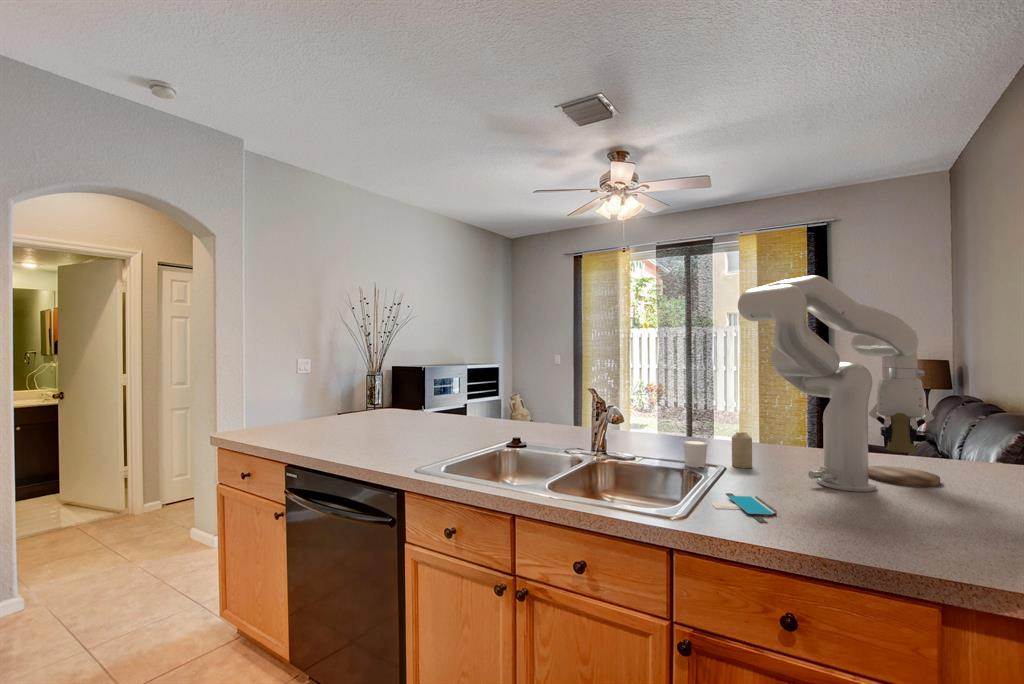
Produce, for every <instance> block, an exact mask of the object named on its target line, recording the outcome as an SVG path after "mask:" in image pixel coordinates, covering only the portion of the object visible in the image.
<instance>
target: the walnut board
mask: <svg viewBox="0 0 1024 684" xmlns="http://www.w3.org/2000/svg"><path fill="white" fill-rule="evenodd" d="M868 479H871V480H874V481H878V482H881V483H886V484H892V485H898V486H903V487H904V486H905V487H915V488H933V487H938V486H940V485H941V477H940V476H939V475H938V474H935V473H931V472H928V471H925V470H920V469H914V468H909V467H902V466H900V467H899V466H893V465H892V466H889V465H870V466H868Z"/></svg>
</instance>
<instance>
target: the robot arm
mask: <svg viewBox="0 0 1024 684" xmlns="http://www.w3.org/2000/svg"><path fill="white" fill-rule="evenodd" d="M737 309H738V313H739V314H740V316H741V317H742V318H743V319H745V320H746V321H749V322H764V321H765V322H766V321H775V324H774V325H775V326H774V333H773V343H774V346H773V349H772V351H771V354H770V362H771V365H772V367H773V370H775V372H776V373H777V374H778V375H779V376H780V377H781V378H783V379H784V380H785V381H787V382H788V383H789V384H791V385H792V386H793V387H794V388H796V389H797V390H799V391H800V392H802V393H803V394H805V395H808V396H812V397H819V398H829V399H830V400H829V402H828V404H827V405H826V407H825V409H824V411H823V416H822V423H823V425H822V427H823V430H822V431H823V432H822V433H823V437H822V439H823V442H822V443H823V465H820V469H818V470H809V471H808V474H807V475H808V477H809V479H811V480H813V479H816V482H817V483H818V484H819V485H822V486H824V487H827V488H830V489H834V490H835V489H836V490H841V491H845V492H847V491H848V492H863V493H865V492H866V493H867V492H873V491H876V489H877V484H876V483H875V482H874V481H871V480H869V478H868V467H869V429H868V428H869V425H868V421H869V420H868V419H869V416H870V417H871V418H873V419H875V420H877V421H878V422H879V423H880V424H881V425H883V427H884V429H885V430H884V431H885V434H884V435H885V437H884V438H885V439H887V440H888V439H889V442H891V437H892V428H891V417H890V416H893V415H895V414H896V413H904V414H906V415H907V416H908V417H911V419H910V421H911V422H910V424H911V429H910V439H911V444H913V441H914V442H917V440H918V439H917V438H918V437H917V436H918V435H917V433H918V432H917V430H918V429H919V428H920V427H922V426H923V425H925V424H926V423H929V422H931V421H933V420H934V419H935V417H934V415H933V414H932V413H931V411H929V409H928V408H927V407H926V404H925V395H924V394H925V393H924V386H923V382H922V380H921V379H919V377H921V376H925V375H926V372H925V370H921V369H919V368H918V347H919V337H918V334H917V332H916V330H914V329H913V328H912V327H911V326H910V325H909V324H908V323H907V322H905V321H904V320H903V319H902V318H900V317H899V316H897V315H895V314H892V313H890V312H887V311H885V310H882V309H878V308H876V307H872V306H870V305H867V304H863V303H859V302H857V301H855V300H854V299H852V297H851V296H849V295H847V293H845V292H844V291H842V290H841V289H840V288H839V287H837V286H836V285H835V284H833V283H832V282H831V281H830V280H828V279H827V278H825V277H823V276H820V275H807V276H799V277H793V278H788V279H783V280H779V281H776V282H772V283H769V284H765V285H762V286H761V285H760V286H758V287H754V288H753V287H752V288H750V289H746V291H744V292H743V293H742V294H740V296H739V299H738V302H737ZM807 313H809V314H811V315H812V316H814V317H815V318H817V319H818V320H819V321H820V322H822V323H823V324H824V325H826V326H827V327H829V328H830V329H832V330H836V331H839V332H843V333H848V334H852V335H853V336H852V338H851V341H850V343H851V347H852V349H853V351H854V352H856V353H857V354H859V355H861V356H865V357H881V371H882V373H881V378H879V379H878V383H877V390H876V404H875V405H874V406H873V407H872V409H870V411H869V401H870V396H871V393H872V387H873V377H872V373H871V371H870V370H869V369H868V368H867V367H865V366H864V365H862V364H860V363H856V362H850V361H841V358H840V356H839V354H838V353H837V351H836V349H834V348H833V346H831V345H830V344H829V343H827V342H826V341H825V340H824V339H823V338H821V337H820V336H819V335H818V334H817V333H815V332H814V331H813V330H812V329H811V328H810V327H809V326H808V322H807ZM882 416H885V417H882ZM918 418H919V419H918ZM917 419H918V420H917Z"/></svg>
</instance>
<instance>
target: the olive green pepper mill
mask: <svg viewBox="0 0 1024 684" xmlns="http://www.w3.org/2000/svg"><path fill="white" fill-rule="evenodd" d="M890 417H891V420H890V424H891V428H892V437H891V442H889V439H887V446H886V447H887V448H886V450H888V451H891V452H896V453H907V454H908V453H910V454H911V453H916V447H915V441H913V444H911V439H910V429H911V421H910V419H911V417H908V416H907V415H906V414H904V413H896V414H895V415H893V416H890Z"/></svg>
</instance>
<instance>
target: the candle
mask: <svg viewBox="0 0 1024 684" xmlns="http://www.w3.org/2000/svg"><path fill="white" fill-rule="evenodd" d="M731 466H732V467H735V468H741V469H751V468H753V438H752V437H751V436H750V434H749V433H748V432H744V431H741V432H738V431H736V433H734V434H733V435H732V436H731Z"/></svg>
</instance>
